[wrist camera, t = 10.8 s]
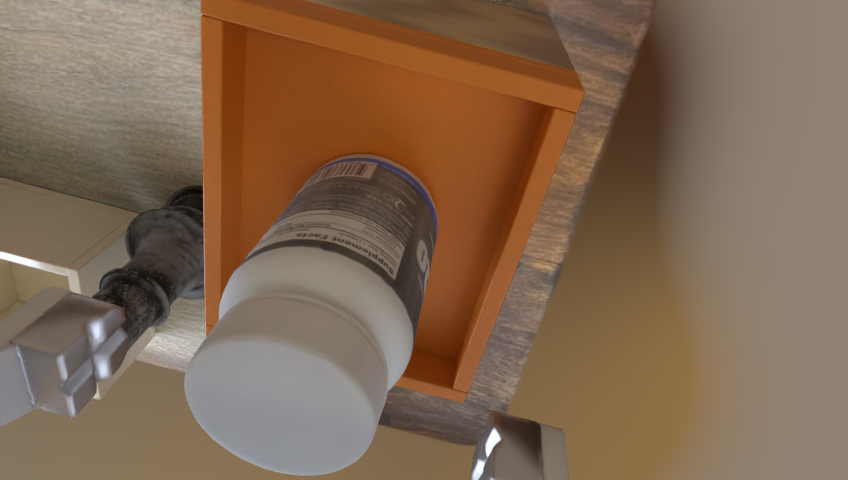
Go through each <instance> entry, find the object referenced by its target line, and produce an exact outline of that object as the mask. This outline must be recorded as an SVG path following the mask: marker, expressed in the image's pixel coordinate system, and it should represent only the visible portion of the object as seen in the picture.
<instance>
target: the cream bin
mask: <svg viewBox="0 0 848 480" xmlns="http://www.w3.org/2000/svg"><path fill="white" fill-rule="evenodd" d="M139 214H140V213H136V212H132V211H128V210H125V209H121V208H117V207H113V206H109V205H105V204H102V203H98V202H94V201H90V200H86V199H83V198H79V197H75V196H71V195H67V194H64V193H60V192H56V191H52V190H48V189H44V188H41V187H37V186H33V185H29V184H25V183H22V182H18V181H14V180H10V179H6V178H3V177H0V321H2V320H3V319H4V318H5V317H7V316H8V315H9V314H11V313H12V312H13V311H15V310H16V309H17V308H19V307H20V306H21V305H23V304H24V303H25V302H27V301H28V300H29V299H31V298H32V297H33V296H35V295H36V294H37V293H39V292H40V291H41V290H43V289H45V288H49V287H52V286H54V287H57V288H61V289H64V290H67V291H71V292H74V293H78V294H81V295H85V296H88V297H92V296H93V295H94V294H95V293H97V292H98V291H99V283H100V280H101V278H102V276H103V275H104V274H105V273H107V272H108V271H109V270H112V269H116V268H122V267H123V266H124V265H125V264H127V263H128V262H129V261H130V258H129V256H128V253H127V250H126V244H125V236H126V229H127V228H128V226H129V224H130V222H131V221H132V220H133V219H134V218H135V217H137V216H138V215H139ZM155 335H156V329H155V327H151V328H148V329H147V330H146V331H145V332H144V333H143V334H142V335H141V337H140V338H139V339H138V340H137V341H136V342H135V343H134V344H133V346H132V347H131V348H130V349H129V350H128V351H127V354H126V356H125V358H124V360H123V362H122V364H121V366H120V368H119V369H118V370H117V371H116V372H115V373H114V374H113V376H112V377H110V378H108V379H105V380H103V381H101V382H98V383H97V393H96V394H95V395H94V396H93V398H95V399H99V400H100V399H101V398H102V397H103V396H104V395H105V393H106V392H107V391H108V390H109V389H110V388H111V386H112V385H113V384H114V383H115V382H116V381H117V379H118V378H119V377H120V376H121V375H122V374H123V372H124V371H125V370H126V369H127V368H128V367H129V365H130V364H131V363H132V362H133V361H134V360H135V358H136V357H137V356H138V355H139V354H140V353H141V351H142V350H143V349H144V348H145V347H146V346H147V344H148V343H149V342H150V341H151V340H152V339H153V337H154V336H155Z"/></svg>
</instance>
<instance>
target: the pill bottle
mask: <svg viewBox="0 0 848 480" xmlns="http://www.w3.org/2000/svg"><path fill="white" fill-rule="evenodd" d="M438 225H439V220H438V213H437V209H436V206H435V203H434V201H433V198H432V196H431V194H430V193H429V191H428V189H427V187H426V186H425V185H424V184H423V182H422V181H421V180H420V179H419V178H418V177H417V176H416V175H414V174H413V173H412V172H411V171H409V170H408V169H407V168H405V167H404V166H402V165H400V164H398V163H396V162H394V161H392V160H390V159H387V158H384V157H381V156H377V155H371V154H352V155H347V156H343V157H339V158H336V159H334V160H332V161H330V162H328V163H326V164H325V165H323V166H322V167H320V168H319V169H318V170H317V171H316V172H315V173H314V174H313V175H312V176H311V177H310V178H309V180H308V181H307V182H306V183H305V184H304V186H303V187H302V188H301V189H300V190H299V192H298V193H297V194H296V195H295V197H294V198H293V199H292V201H291V202H290V203H289V205H288V206H287V207H286V208H285V210H284V211H283V212H282V214H281V215H280V216H279V218H278V219H277V220H276V221H275V223H274V224H273V225H272V226H271V227H270V228H269V230H268V231H267V232H266V234H265V235H264V236H263V237H262V239H261V240H260V241H259V243H258V244H257V245H256V246H255V247H254V248H253V250H252V251H251V252H250V253H249V255H248V256H247V257H246V259H245V260H244V261H243V263H242V264H241V265H240V266H239V267H238V268H237V269H236V270H235V271H234V273H233V274H232V276H231V278H230V279H229V281H228V283H227V286H226V288H225V290H224V292H223V295H222V298H221V302H220V307H219V321H218V322H217V323H216V324H215V326H214V327H213V329H212V330H211V332H210V333H209V334H208V336H207V337H206V339H205V340H204V341H203V343H202V344H201V346H200V347H199V348H198V350H197V351H196V353H195V354H194V356H193V357H192V359H191V361H190V363H189V365H188V368H187V370H186V375H185V394H186V398H187V402H188V404H189V406H190V408H191V411H192V413H193V415H194V417H195V418H196V420H197V421H198V423H199V424H200V425H201V427H202V428H203V429H204V430H205V431H206V432H207V433H208V434H209V435H210V437H211V438H212V439H214V440H215V441H216V442H217V443H219V444H220V445H222V446H223V447H224V448H225V449H227V450H228V451H230V452H231V453H233V454H235V455H236V456H238V457H240V458H242V459H244V460H246V461H248V462H250V463H252V464H254V465H257V466H259V467H262V468H265V469H268V470H272V471H277V472H281V473H286V474H293V475H321V474H327V473H332V472H335V471H337V470H340V469H342V468H345V467H347V466H349V465H350V464H352V463H353V462H355V461H356V460H358V459H359V458H360V457H361V456H362V455H363V454H364V453H365V451H366V450H367V449H368V447H369V446H370V443H371V442H372V439H373V437H374V434H375V432H376V428H377V425H378V422H379V419H380V416H381V413H382V410H383V407H384V405H385V402H386V399H387V392H388V391H389V390H390V389H391V388H392V387H393V386H394V385H395V384H396V383H397V381H398V380H399V379H400V377H401V376H402V374H403V373H404V371H405V369H406V367H407V365H408V363H409V361H410V358H411V354H412V351H413V348H414V343H415V339H416V333H417V328H418V322H419V316H420V312H421V309H422V305H423V299H424V295H425V290H426V286H427V283H428V279H429V274H430V270H431V264H432V260H433V254H434V250H435V246H436V242H437V235H438Z"/></svg>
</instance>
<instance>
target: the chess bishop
mask: <svg viewBox="0 0 848 480" xmlns="http://www.w3.org/2000/svg"><path fill="white" fill-rule="evenodd" d="M125 244H126V250H127V253H128V256H129V258H130V261H129V262H128V263H127V264H125V265H124V266H123V267H122V268H116V269H112V270H109V271H108V272H107V273H105V274H104V275H103V276H102V278H101V280H100V283H99V291H98V292H97V293H95V294H94V295H93V296H92V297H91V298H94V299H97V300H101V301H104V302H107V303H110V304H114V305H117V306H119V307H122V308H124V312H125V318H126V320H125V321H124V322H123V323H122V324H121V325H120V326H121V327H122V329H123V330H124V331H125V333H126V334H127V335H128V343H129V344H128V350H129V349H130V348H131V347H132V346H133V344H134V343H135V342H136V341H137V340H138V339H139V338H140V337H141V335H142V334H143V333H144V332H145V331H146V330H147V329H148V328H151V327H155V326H159V325H160V324H162V323H163V322H165V320H166V319H167V318H168V316H169V312H170V305H171V304H172V303H173V302H174V301H175V300H176V298H177V297H180V298H184V299H202V298H205V290H204V212H203V187H200V186H193V187H186V188H183V189H180V190H178V191H177V192H176V193H175V194H173V195H172V196H171V197H170V199H169V200H168V202H167V204H166V207H164V208H161V209H152V210H149V211H146V212H143V213H141V214H139V215H138V216H137V217H135V218H134V219H133V220H132V221H131V222H130V224H129V226H128V228H127V229H126V236H125ZM128 350H127V351H128Z"/></svg>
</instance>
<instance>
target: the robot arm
mask: <svg viewBox="0 0 848 480" xmlns="http://www.w3.org/2000/svg"><path fill="white" fill-rule="evenodd" d="M125 320H126V318H125V312H124V308H122V307H119V306H117V305H114V304H110V303H107V302H104V301H101V300H97V299H94V298H91V297H88V296H85V295H81V294H78V293H74V292H71V291H67V290H64V289H61V288H57V287H54V286H52V287H49V288H45V289H43V290H41V291H40V292H39V293H37V294H36V295H35V296H33V297H32V298H31V299H29V300H28V301H27V302H25V303H24V304H23V305H21V306H20V307H19V308H17V309H16V310H15V311H13V312H12V313H11V314H9V315H8V316H7V317H5V318H4V319H3V320H2V321H0V427H1V426H3V425H5V424H7V423H9V422H11V421H13V420H15V419H16V418H19V417H20V416H22V415H24V414H26V413H28V412H30V411H32V410H33V408H36V409H40V410H45V411H48V412H52V413H56V414H60V415H64V416H68V417H72V418H74V417H75V416H76V415H77V414H78V412H80V411H81V410H82V408H83V407H84V406H85V405H86V404H87V403H88V402H89V401H90V400H91V399H92V398H93V396H94V395H95V394H96V393H97V383H98V382H101V381H103V380H105V379H108V378H110V377H112V376H113V374H114V373H115V372H116V371H117V370H118V369H119V368H120V366H121V364H122V362H123V360H124V358H125V356H126V354H127V350H128V344H129V343H128V335H127V334H126V333H125V331H124V330H123V329H122V327H121V326H120V325H121V324H122V323H123V322H124V321H125ZM471 480H569V474H568V463H567V453H566V443H565V434H564V432H563V430H562V429H559V428H555V427H552V426H548V425H545V424H541V423H537V422H534V421H531V420H527V419H523V418H519V417H516V416H512V415H509V414H505V413H501V412H497V411H494V410H493V411H492V412H491V413H490V415H489V417H488V420H487V423H486V432H485V433H483V434H481V435H480V438H479V440H478V443H477V446H476V450H475V453H474V457H473V462H472V469H471Z"/></svg>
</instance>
